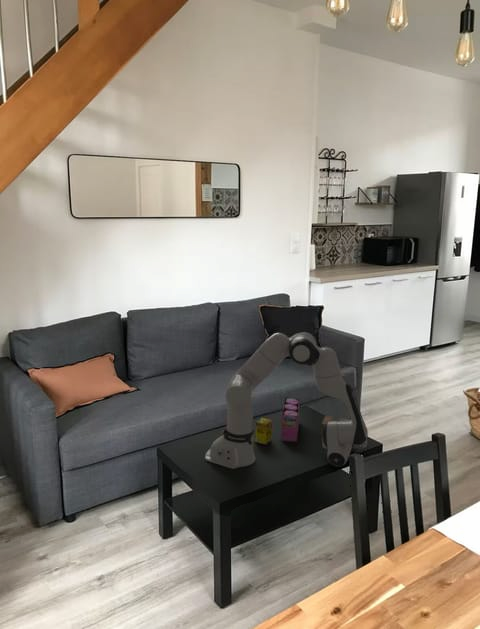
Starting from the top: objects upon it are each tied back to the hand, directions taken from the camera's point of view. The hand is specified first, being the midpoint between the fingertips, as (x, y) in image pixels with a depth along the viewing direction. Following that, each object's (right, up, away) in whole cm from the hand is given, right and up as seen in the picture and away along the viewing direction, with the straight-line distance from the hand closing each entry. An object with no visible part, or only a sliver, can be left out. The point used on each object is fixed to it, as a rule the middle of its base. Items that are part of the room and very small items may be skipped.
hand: (346, 431), depth 238 cm
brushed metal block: (-1, -7, +1) cm, 7 cm away
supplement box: (-38, -7, +7) cm, 40 cm away
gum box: (-24, -5, +19) cm, 31 cm away
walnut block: (-4, -6, +15) cm, 16 cm away
